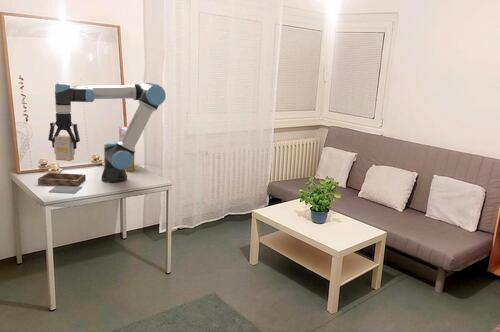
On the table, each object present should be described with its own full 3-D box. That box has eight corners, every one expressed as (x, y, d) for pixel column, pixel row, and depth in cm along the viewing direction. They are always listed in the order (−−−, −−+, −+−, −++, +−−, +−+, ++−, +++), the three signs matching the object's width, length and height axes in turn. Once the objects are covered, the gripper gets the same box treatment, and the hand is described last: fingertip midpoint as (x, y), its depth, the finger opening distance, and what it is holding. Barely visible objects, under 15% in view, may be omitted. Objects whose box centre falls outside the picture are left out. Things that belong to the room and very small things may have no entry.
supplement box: (74, 159, 235) (73, 136, 232) (69, 161, 230) (69, 137, 227) (60, 158, 236) (59, 134, 233) (55, 160, 231) (54, 136, 228)
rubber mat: (82, 187, 243) (82, 186, 243) (74, 193, 232) (74, 192, 232) (57, 186, 242) (57, 185, 242) (48, 192, 231) (48, 191, 231)
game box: (134, 171, 286) (134, 131, 280) (126, 171, 283) (126, 131, 277) (126, 164, 303) (126, 126, 297) (118, 164, 300) (118, 126, 294)
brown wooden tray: (85, 180, 258) (85, 174, 257) (77, 186, 244) (77, 180, 243) (48, 178, 256) (48, 172, 255) (38, 184, 243) (37, 178, 242)
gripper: (86, 113, 231) (86, 153, 237) (45, 110, 230) (47, 151, 235) (81, 114, 224) (82, 156, 229) (39, 112, 223) (41, 154, 228)
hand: (64, 154), depth 232 cm, fingers closed on supplement box, 9 cm apart
